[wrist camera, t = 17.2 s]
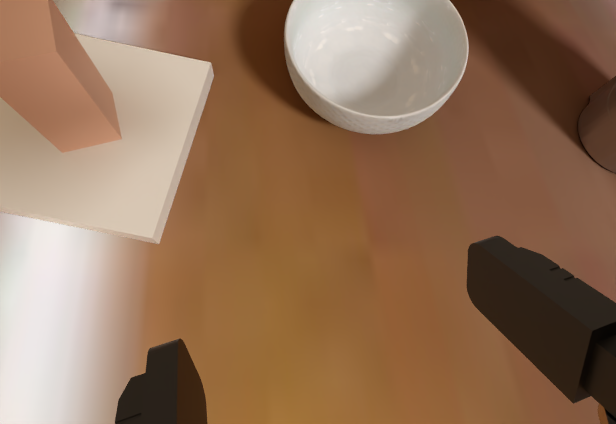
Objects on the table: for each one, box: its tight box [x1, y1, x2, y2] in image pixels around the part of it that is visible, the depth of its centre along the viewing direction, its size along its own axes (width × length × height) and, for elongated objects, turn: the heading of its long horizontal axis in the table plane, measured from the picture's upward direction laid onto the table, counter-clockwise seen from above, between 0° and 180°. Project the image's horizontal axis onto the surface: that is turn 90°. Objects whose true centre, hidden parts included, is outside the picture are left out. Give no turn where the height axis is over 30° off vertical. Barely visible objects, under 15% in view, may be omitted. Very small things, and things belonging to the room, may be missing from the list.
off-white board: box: [0, 34, 214, 244], centre depth 36 cm, size 18×18×2 cm
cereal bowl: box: [284, 0, 469, 134], centre depth 38 cm, size 17×17×7 cm
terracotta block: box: [0, 0, 122, 153], centre depth 30 cm, size 5×5×11 cm
